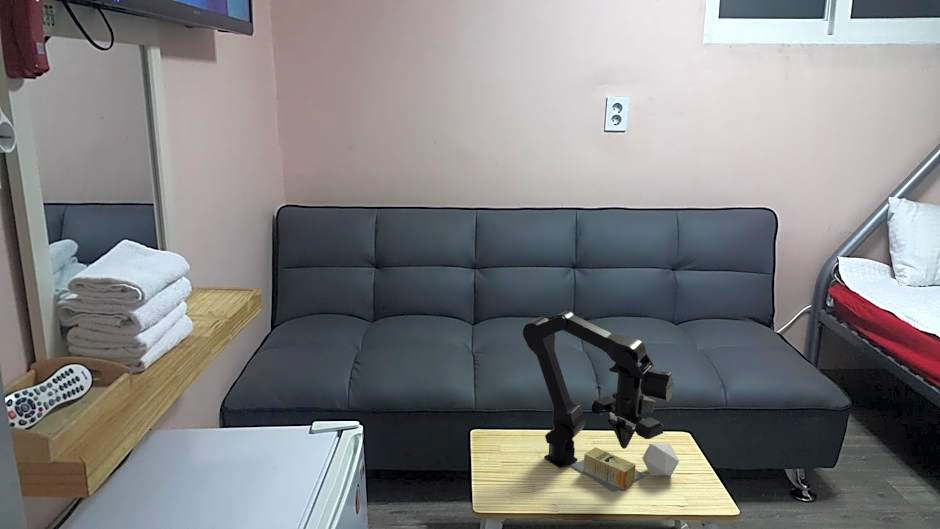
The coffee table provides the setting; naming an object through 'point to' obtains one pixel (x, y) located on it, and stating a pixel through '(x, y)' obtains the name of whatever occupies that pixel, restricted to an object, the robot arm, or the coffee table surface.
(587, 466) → the shoe polish box
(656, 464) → the die
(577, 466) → the mat
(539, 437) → the coffee table surface
